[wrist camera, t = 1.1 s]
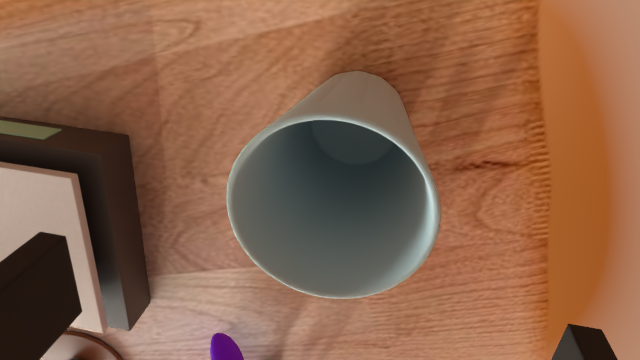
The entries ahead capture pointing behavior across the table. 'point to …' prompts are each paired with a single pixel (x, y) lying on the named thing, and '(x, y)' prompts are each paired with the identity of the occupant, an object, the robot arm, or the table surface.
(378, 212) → the cup
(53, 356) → the round wooden coaster
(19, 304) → the robot arm
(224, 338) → the fox figurine
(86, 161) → the scale
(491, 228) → the table surface
